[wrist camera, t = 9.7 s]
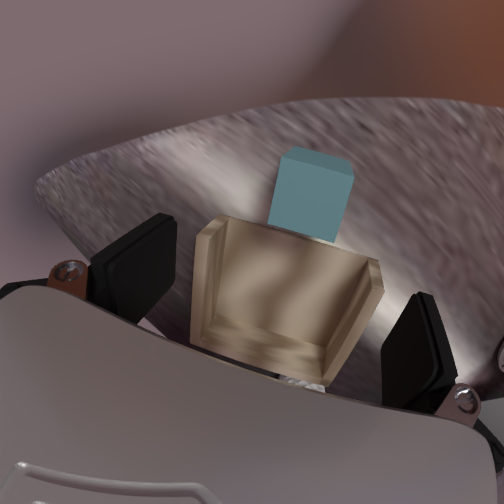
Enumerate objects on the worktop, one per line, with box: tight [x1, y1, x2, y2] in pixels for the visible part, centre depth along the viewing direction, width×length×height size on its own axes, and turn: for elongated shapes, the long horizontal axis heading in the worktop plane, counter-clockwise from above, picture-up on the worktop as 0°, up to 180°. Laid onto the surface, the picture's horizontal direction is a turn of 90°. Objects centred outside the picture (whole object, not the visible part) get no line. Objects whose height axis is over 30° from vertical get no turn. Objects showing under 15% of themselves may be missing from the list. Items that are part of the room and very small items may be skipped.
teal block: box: [267, 146, 354, 243], centre depth 22 cm, size 5×5×7 cm
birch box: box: [190, 214, 385, 387], centre depth 29 cm, size 17×14×6 cm
